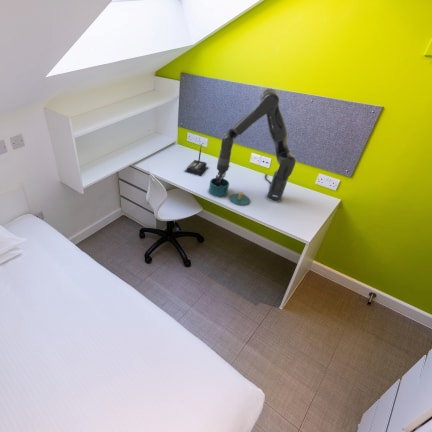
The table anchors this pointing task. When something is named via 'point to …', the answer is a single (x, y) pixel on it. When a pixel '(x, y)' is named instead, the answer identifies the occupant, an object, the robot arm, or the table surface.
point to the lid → (239, 199)
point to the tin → (218, 188)
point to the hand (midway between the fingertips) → (219, 184)
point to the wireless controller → (197, 166)
